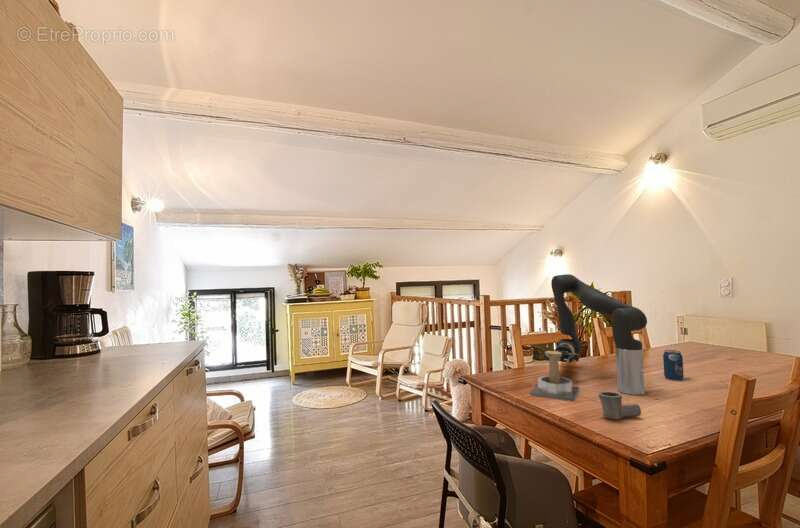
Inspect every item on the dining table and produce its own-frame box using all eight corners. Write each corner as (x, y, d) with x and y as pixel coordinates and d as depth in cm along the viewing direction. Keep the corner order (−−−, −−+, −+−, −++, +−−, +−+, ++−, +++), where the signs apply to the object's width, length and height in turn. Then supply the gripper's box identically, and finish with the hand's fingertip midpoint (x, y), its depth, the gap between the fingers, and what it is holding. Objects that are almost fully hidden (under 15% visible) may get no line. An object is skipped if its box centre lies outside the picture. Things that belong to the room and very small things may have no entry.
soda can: (681, 381, 160) (679, 353, 161) (662, 378, 166) (660, 351, 166) (685, 378, 165) (684, 351, 165) (667, 375, 170) (665, 349, 170)
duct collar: (579, 389, 154) (578, 377, 154) (574, 401, 141) (573, 387, 141) (538, 384, 163) (538, 373, 163) (530, 395, 149) (529, 382, 149)
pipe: (644, 420, 121) (643, 395, 121) (604, 422, 121) (603, 396, 121) (632, 413, 127) (631, 390, 127) (594, 414, 127) (593, 391, 127)
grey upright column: (550, 386, 156) (549, 350, 156) (565, 390, 151) (564, 352, 151) (544, 389, 153) (542, 352, 153) (559, 392, 148) (557, 354, 148)
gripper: (548, 342, 179) (541, 349, 166) (581, 345, 172) (576, 351, 158) (548, 358, 179) (541, 366, 165) (581, 361, 172) (577, 369, 158)
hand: (558, 359), depth 162 cm, fingers open, 8 cm apart
